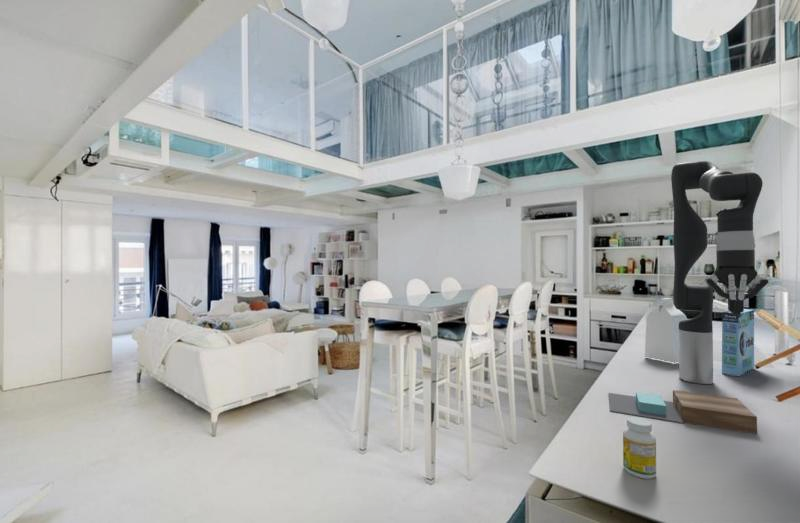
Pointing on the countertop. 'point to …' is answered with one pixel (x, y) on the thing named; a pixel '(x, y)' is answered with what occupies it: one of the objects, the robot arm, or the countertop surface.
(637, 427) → the supplement bottle
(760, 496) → the countertop surface
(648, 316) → the milk
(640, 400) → the teal foam pad
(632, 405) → the mat
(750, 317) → the gum box
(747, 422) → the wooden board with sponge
